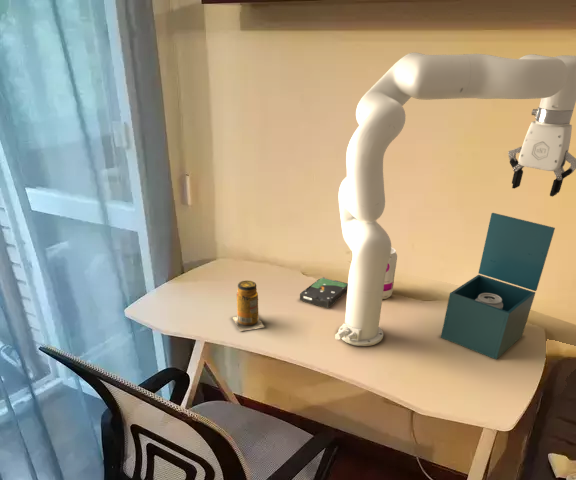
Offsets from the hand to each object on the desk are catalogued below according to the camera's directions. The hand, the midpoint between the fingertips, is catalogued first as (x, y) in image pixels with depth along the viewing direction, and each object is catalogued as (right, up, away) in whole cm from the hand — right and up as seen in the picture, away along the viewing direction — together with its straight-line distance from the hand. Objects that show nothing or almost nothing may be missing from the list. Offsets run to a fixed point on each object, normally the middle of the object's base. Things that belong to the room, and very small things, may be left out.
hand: (534, 191), depth 137 cm
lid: (-2, -14, +7) cm, 16 cm away
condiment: (-74, -31, +21) cm, 83 cm away
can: (-8, -36, +15) cm, 40 cm away
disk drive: (-51, -21, +36) cm, 66 cm away
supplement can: (-33, -20, +37) cm, 54 cm away
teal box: (-8, -36, +16) cm, 40 cm away
